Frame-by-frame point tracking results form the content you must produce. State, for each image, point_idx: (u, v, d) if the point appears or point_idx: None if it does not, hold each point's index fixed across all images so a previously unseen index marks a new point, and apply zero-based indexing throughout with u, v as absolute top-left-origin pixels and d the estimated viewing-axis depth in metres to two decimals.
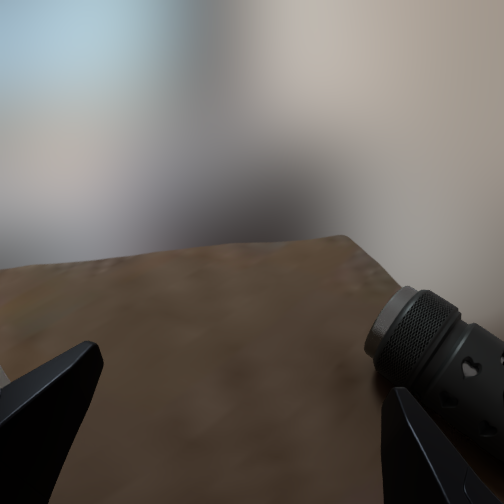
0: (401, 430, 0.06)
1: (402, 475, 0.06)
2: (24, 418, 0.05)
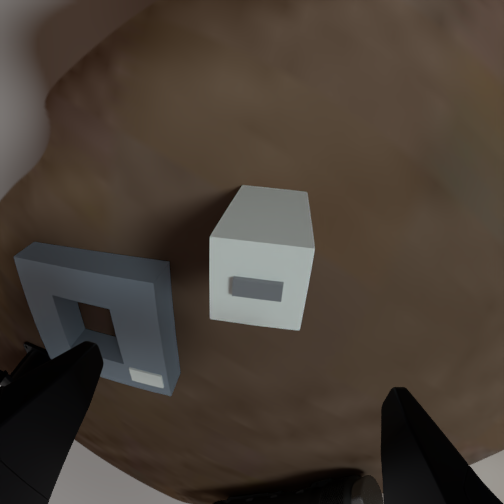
0: (401, 430, 0.06)
1: (402, 475, 0.06)
2: (24, 418, 0.05)
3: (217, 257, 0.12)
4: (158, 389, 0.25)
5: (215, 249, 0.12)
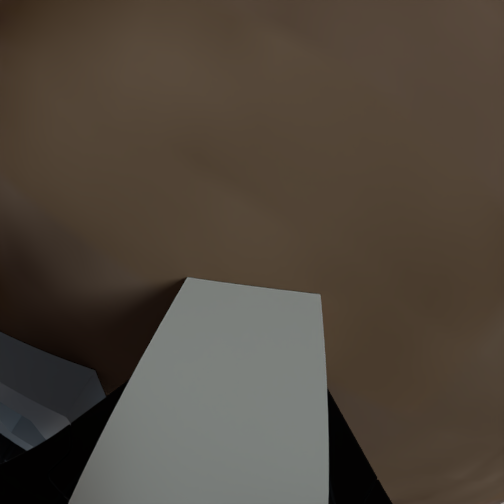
0: None
1: None
2: None
3: None
4: None
5: None
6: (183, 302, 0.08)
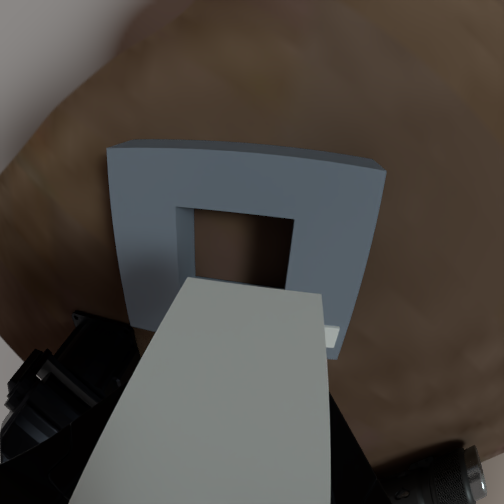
0: None
1: None
2: None
3: None
4: None
5: None
6: (183, 302, 0.08)
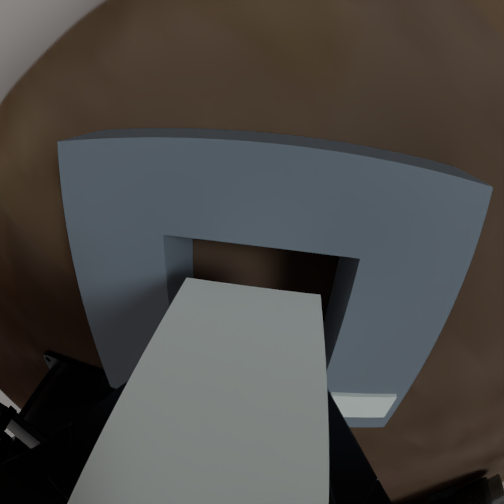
0: None
1: None
2: None
3: None
4: (367, 421, 0.13)
5: None
6: (182, 302, 0.08)
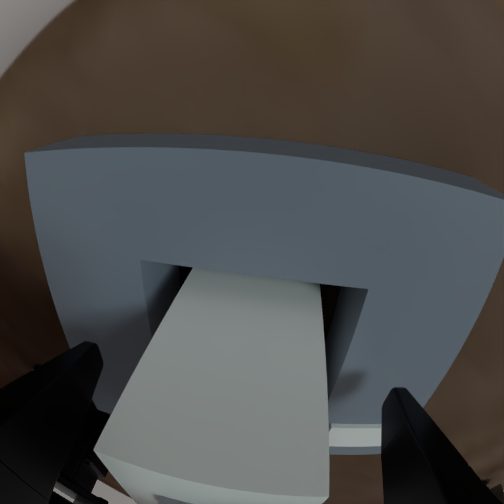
0: (401, 430, 0.06)
1: (402, 475, 0.06)
2: (24, 418, 0.05)
3: (121, 473, 0.04)
4: (368, 448, 0.11)
5: (112, 466, 0.04)
6: None
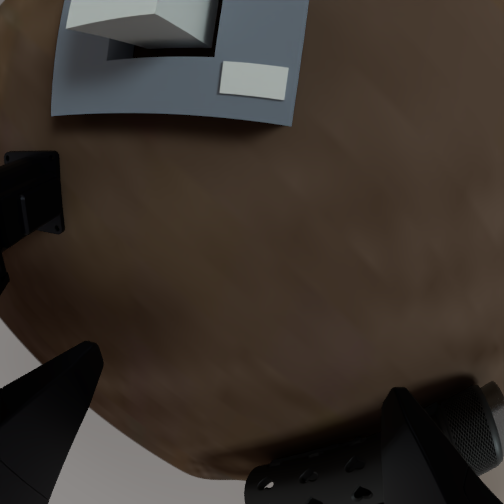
0: (401, 430, 0.06)
1: (402, 475, 0.06)
2: (24, 418, 0.05)
3: None
4: (268, 111, 0.13)
5: None
6: None
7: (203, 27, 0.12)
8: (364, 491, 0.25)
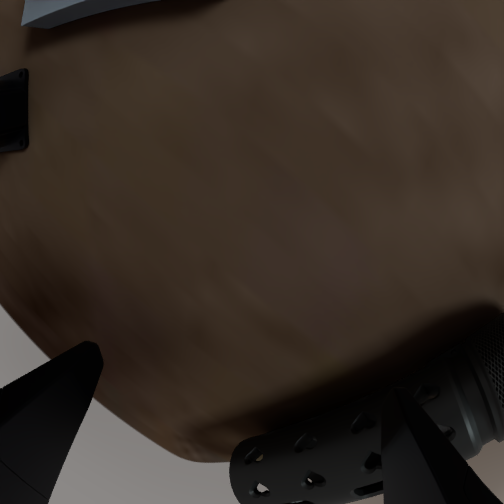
0: (401, 430, 0.06)
1: (402, 475, 0.06)
2: (24, 418, 0.05)
3: None
4: None
5: None
6: None
7: None
8: None
